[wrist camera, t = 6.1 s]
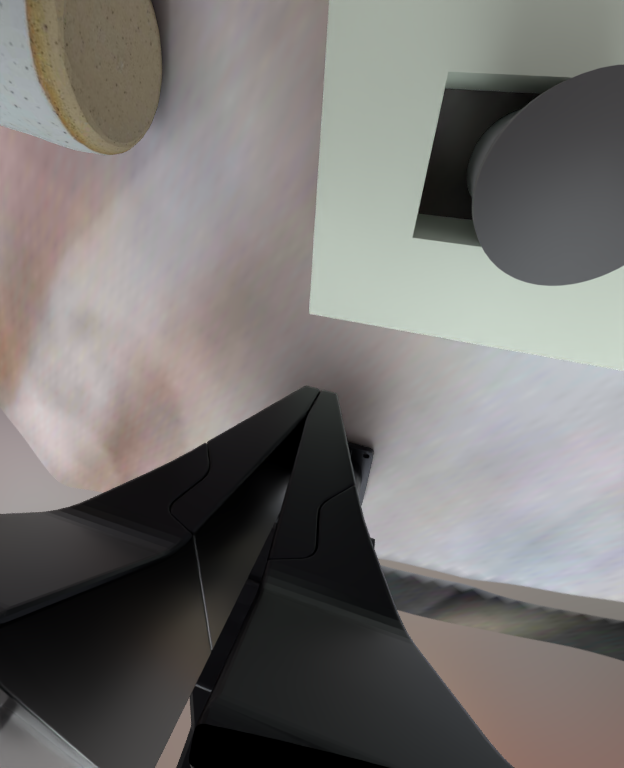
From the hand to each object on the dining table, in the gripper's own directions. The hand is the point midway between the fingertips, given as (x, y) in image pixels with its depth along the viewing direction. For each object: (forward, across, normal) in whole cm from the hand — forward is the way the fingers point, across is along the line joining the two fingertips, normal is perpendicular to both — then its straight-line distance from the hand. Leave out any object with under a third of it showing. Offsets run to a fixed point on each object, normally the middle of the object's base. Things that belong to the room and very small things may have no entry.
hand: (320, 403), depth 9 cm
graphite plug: (+10, -4, -5) cm, 13 cm away
